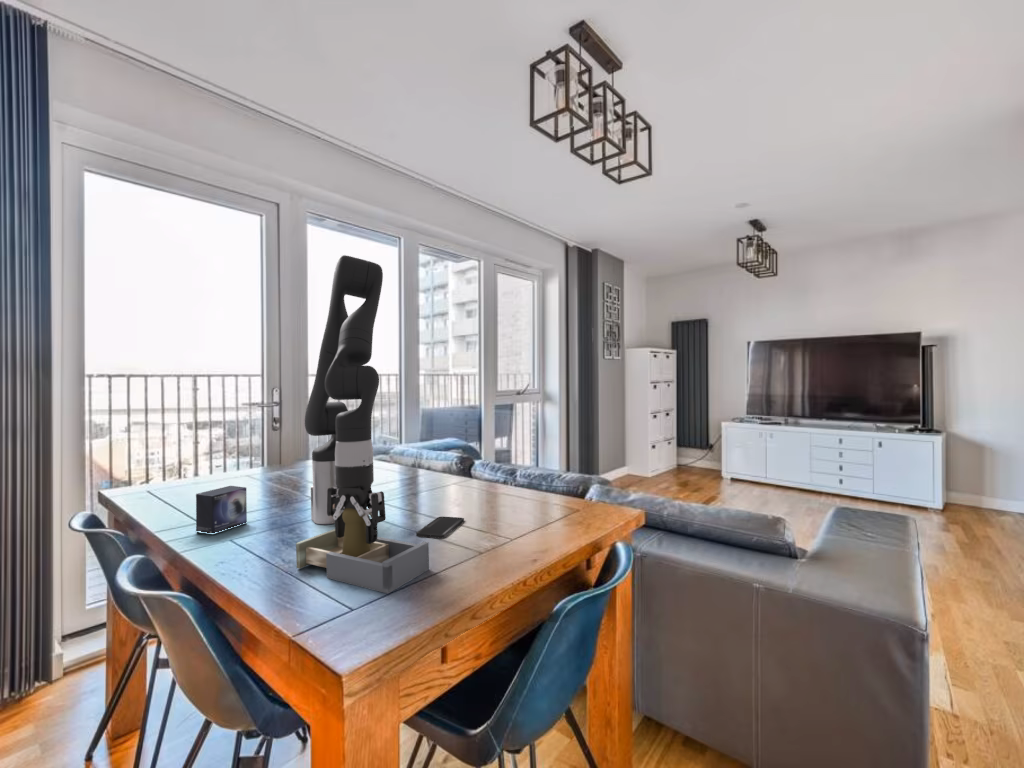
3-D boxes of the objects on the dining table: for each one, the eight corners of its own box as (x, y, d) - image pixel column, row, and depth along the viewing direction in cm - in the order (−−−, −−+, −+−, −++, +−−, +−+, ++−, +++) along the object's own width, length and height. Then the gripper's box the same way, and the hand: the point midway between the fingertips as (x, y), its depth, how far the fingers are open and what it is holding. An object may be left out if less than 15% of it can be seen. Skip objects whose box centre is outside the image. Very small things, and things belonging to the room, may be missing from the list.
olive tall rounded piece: (347, 553, 100) (346, 502, 100) (375, 553, 100) (374, 502, 100) (336, 564, 94) (335, 510, 94) (365, 564, 94) (364, 510, 94)
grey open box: (326, 577, 93) (326, 549, 93) (371, 556, 103) (370, 531, 103) (387, 593, 85) (387, 563, 85) (429, 569, 96) (428, 542, 96)
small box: (213, 536, 120) (212, 495, 120) (194, 534, 122) (193, 493, 122) (248, 523, 130) (247, 486, 130) (230, 522, 132) (230, 485, 132)
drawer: (296, 567, 97) (296, 543, 97) (340, 549, 107) (340, 527, 107) (351, 582, 90) (350, 555, 90) (393, 560, 100) (392, 536, 100)
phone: (465, 517, 129) (443, 535, 114) (465, 521, 129) (443, 540, 114) (438, 516, 131) (414, 533, 116) (438, 520, 131) (414, 537, 116)
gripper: (315, 462, 97) (317, 540, 97) (366, 467, 90) (368, 551, 90) (344, 456, 103) (345, 529, 104) (393, 461, 97) (394, 538, 97)
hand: (356, 539), depth 97 cm, fingers open, 8 cm apart
